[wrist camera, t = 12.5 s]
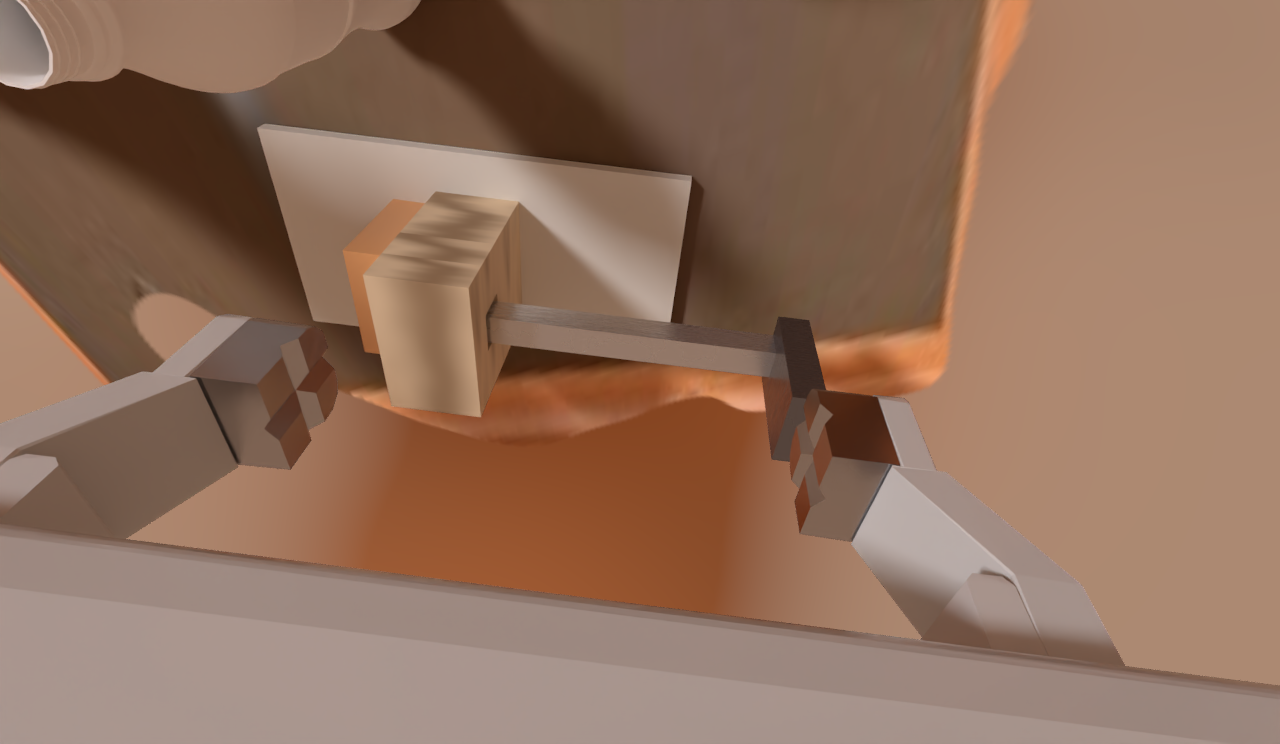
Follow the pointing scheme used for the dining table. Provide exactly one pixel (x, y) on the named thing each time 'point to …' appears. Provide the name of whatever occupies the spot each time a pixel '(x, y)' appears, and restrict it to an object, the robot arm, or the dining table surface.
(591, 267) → the base board
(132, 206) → the dining table surface
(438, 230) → the bearing block
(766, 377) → the shaft
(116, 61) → the water bottle
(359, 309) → the block
